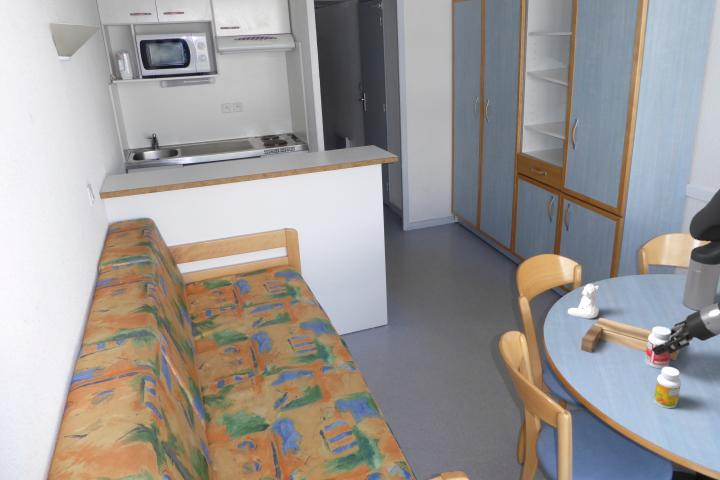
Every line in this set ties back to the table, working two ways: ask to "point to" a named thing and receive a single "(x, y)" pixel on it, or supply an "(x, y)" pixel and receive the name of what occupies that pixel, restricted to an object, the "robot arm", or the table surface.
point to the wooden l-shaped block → (617, 336)
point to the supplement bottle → (667, 388)
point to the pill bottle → (654, 340)
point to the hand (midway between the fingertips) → (658, 345)
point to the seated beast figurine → (586, 304)
